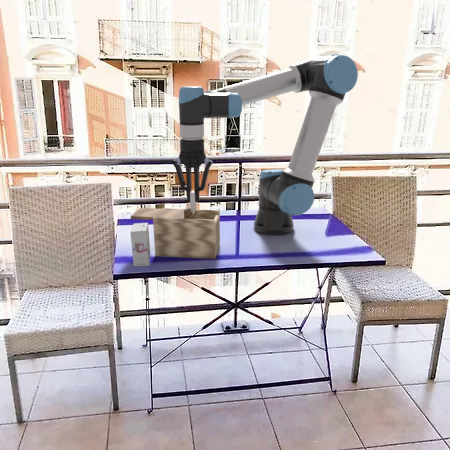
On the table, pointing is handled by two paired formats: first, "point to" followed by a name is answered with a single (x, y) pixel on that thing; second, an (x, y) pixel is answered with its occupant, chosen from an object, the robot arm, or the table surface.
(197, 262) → the table surface
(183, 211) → the lid
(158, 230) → the box
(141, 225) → the ink box
